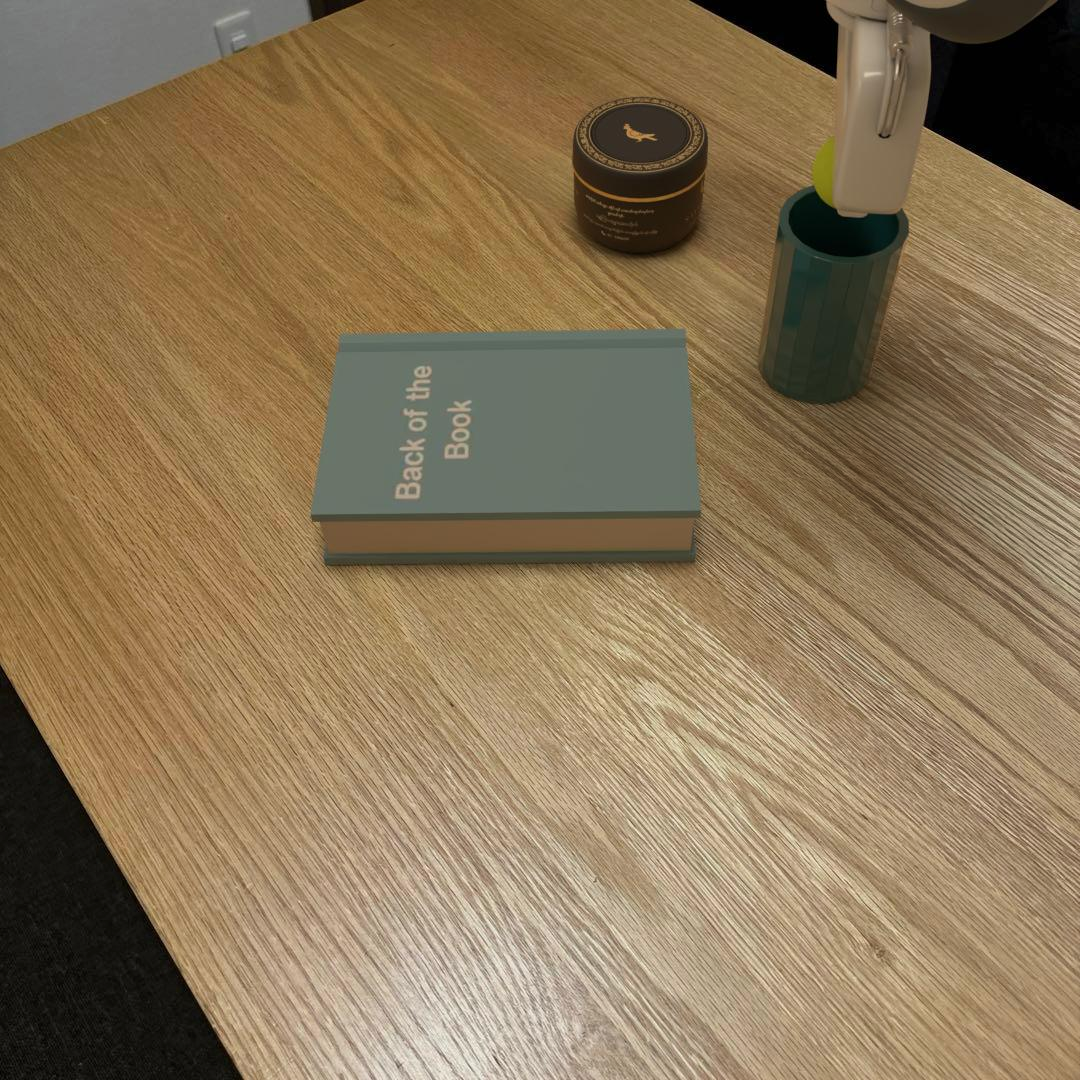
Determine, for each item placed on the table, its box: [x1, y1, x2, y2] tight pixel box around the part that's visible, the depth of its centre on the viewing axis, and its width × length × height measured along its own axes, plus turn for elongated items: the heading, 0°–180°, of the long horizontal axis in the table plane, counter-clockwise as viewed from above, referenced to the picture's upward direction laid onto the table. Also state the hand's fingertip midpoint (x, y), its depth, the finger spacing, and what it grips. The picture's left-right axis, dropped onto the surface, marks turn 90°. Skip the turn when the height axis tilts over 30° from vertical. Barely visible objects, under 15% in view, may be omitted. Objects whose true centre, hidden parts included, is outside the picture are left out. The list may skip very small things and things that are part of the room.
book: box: [310, 328, 702, 566], centre depth 76 cm, size 23×16×5 cm
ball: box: [811, 134, 837, 209], centre depth 70 cm, size 5×5×5 cm
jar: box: [571, 96, 709, 255], centre depth 89 cm, size 10×10×8 cm
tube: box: [757, 184, 910, 405], centre depth 78 cm, size 8×8×12 cm
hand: (852, 178), depth 70 cm, fingers closed on ball, 4 cm apart
